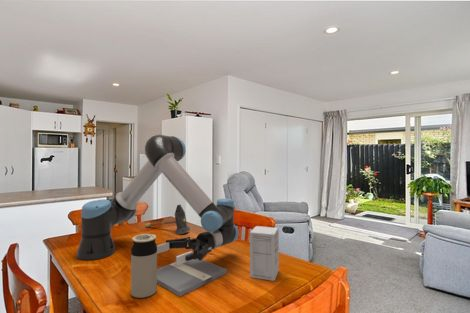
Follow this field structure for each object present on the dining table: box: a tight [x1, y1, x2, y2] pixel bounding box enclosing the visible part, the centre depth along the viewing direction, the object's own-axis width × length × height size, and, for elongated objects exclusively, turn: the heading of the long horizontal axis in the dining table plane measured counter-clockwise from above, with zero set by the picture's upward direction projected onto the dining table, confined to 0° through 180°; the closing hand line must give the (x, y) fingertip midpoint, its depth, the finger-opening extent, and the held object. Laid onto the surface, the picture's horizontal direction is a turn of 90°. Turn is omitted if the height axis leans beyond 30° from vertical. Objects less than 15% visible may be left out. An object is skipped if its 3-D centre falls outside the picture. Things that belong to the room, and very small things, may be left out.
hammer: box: [144, 204, 191, 235], centre depth 155 cm, size 6×16×30 cm
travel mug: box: [130, 233, 158, 299], centre depth 85 cm, size 8×8×18 cm
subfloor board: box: [157, 258, 228, 297], centre depth 98 cm, size 20×22×2 cm
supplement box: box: [249, 225, 280, 282], centre depth 99 cm, size 10×9×17 cm
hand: (164, 255), depth 91 cm, fingers open, 13 cm apart
